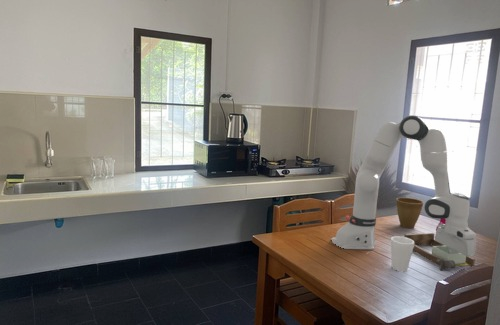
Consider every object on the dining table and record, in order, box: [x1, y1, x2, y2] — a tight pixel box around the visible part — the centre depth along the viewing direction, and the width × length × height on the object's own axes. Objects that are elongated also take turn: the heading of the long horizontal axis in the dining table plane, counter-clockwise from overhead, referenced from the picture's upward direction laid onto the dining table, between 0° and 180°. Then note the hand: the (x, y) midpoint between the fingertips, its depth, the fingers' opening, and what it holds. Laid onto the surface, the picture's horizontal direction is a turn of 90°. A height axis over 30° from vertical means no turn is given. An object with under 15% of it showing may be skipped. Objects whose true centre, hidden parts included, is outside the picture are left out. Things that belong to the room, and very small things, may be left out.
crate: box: [431, 245, 466, 265], centre depth 175 cm, size 10×10×5 cm
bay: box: [403, 232, 476, 271], centre depth 179 cm, size 22×31×6 cm
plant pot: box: [396, 197, 424, 229], centre depth 225 cm, size 15×15×16 cm
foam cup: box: [390, 236, 415, 273], centre depth 163 cm, size 10×9×13 cm
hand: (451, 257), depth 173 cm, fingers closed
